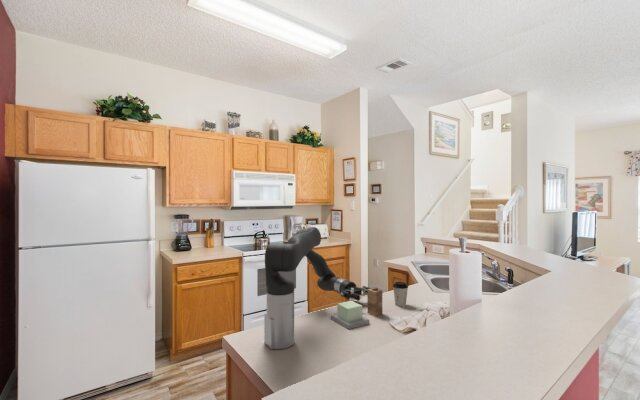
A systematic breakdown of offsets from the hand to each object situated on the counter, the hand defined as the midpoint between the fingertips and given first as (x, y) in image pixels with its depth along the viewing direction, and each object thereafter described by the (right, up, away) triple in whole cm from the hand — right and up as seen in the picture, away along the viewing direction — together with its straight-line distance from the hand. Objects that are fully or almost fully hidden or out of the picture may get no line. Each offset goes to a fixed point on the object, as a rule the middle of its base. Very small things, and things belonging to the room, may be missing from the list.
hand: (367, 296), depth 133 cm
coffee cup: (+16, -6, +6) cm, 18 cm away
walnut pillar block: (+3, -6, -4) cm, 8 cm away
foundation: (-9, -6, -12) cm, 16 cm away
